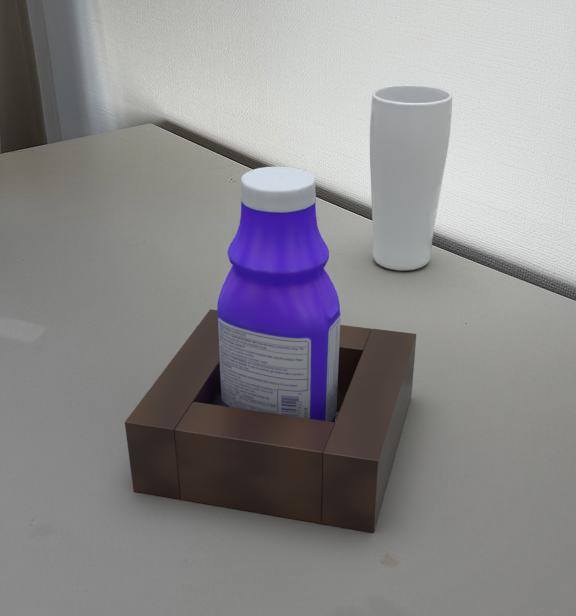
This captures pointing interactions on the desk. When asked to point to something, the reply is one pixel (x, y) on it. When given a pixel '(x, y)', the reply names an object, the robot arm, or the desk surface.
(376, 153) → the drinking glass
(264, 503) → the frame
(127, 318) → the desk surface
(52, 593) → the desk surface
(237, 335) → the bottle
